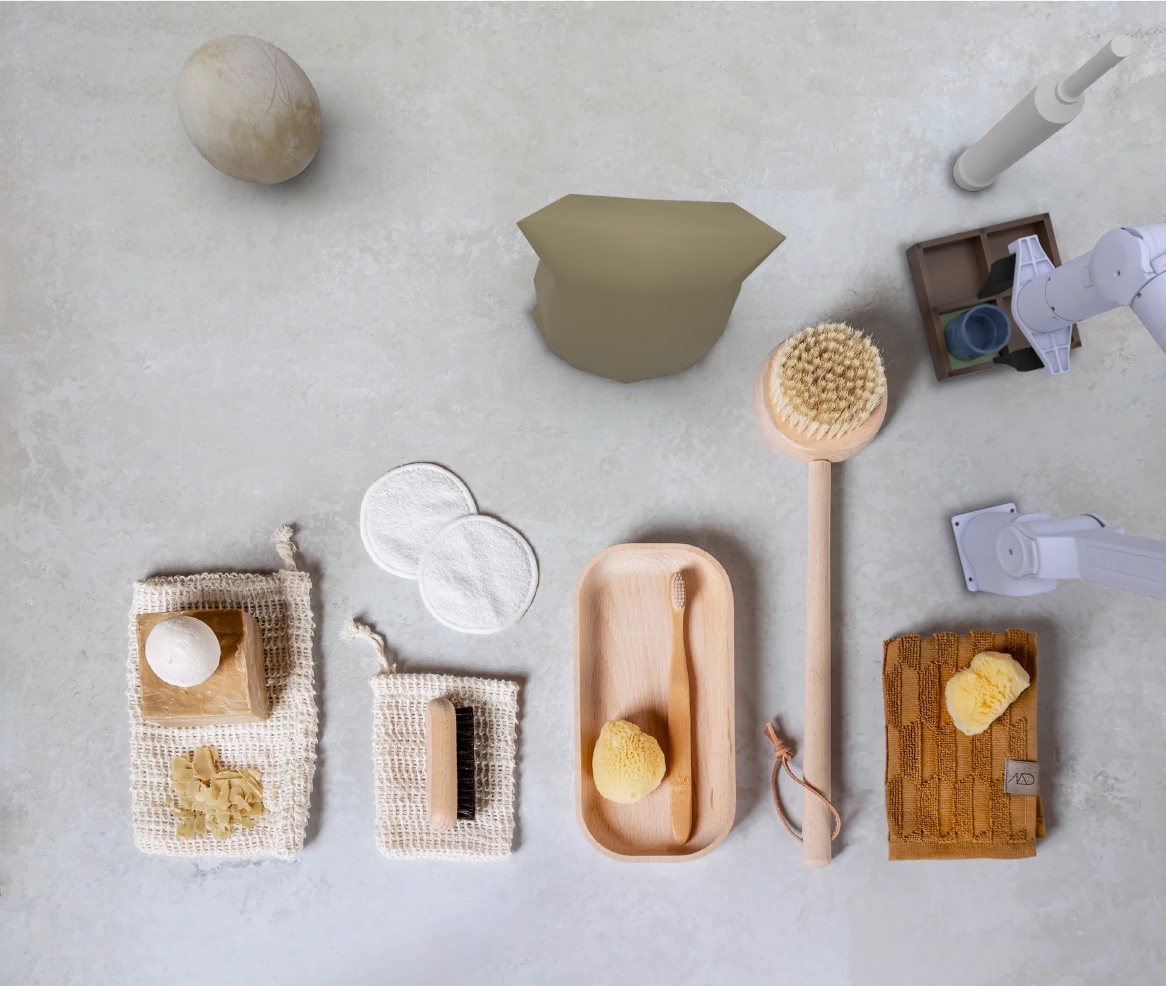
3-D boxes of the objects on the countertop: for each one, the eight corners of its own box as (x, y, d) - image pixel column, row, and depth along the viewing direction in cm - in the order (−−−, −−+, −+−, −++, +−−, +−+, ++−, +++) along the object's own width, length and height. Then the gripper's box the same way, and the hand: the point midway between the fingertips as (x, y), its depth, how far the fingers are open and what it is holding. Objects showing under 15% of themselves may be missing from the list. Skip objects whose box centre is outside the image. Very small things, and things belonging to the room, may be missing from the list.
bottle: (1000, 166, 90) (1161, 36, 65) (978, 200, 90) (1131, 84, 65) (965, 143, 90) (1112, 6, 65) (943, 178, 90) (1082, 54, 65)
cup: (994, 354, 89) (1017, 347, 85) (948, 365, 89) (967, 358, 85) (983, 309, 89) (1005, 298, 85) (937, 320, 89) (956, 310, 85)
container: (727, 257, 90) (801, 133, 60) (720, 392, 90) (792, 336, 60) (534, 246, 90) (512, 118, 60) (527, 382, 90) (501, 321, 60)
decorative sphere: (266, 61, 90) (203, -28, 75) (364, 132, 90) (321, 57, 75) (194, 158, 90) (117, 89, 75) (292, 229, 90) (235, 174, 75)
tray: (1083, 347, 90) (1258, 293, 67) (937, 381, 90) (1061, 339, 67) (1051, 216, 90) (1213, 117, 67) (905, 250, 90) (1017, 163, 67)
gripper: (1132, 355, 70) (1042, 380, 83) (1095, 209, 70) (1012, 258, 84) (1061, 372, 70) (983, 394, 83) (1025, 226, 70) (952, 272, 84)
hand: (993, 327), depth 84 cm, fingers open, 7 cm apart
